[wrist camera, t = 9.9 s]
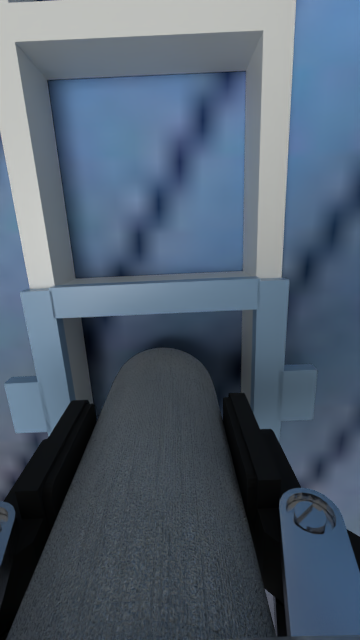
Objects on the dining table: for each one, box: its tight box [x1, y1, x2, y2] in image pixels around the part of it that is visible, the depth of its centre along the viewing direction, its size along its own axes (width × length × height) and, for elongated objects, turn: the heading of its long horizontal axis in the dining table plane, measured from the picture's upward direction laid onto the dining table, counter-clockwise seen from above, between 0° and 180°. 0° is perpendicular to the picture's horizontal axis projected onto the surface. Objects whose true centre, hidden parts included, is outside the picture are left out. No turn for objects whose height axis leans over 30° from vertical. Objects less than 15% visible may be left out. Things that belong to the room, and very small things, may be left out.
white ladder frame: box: [0, 0, 318, 443], centre depth 12 cm, size 13×28×3 cm, turn 3°
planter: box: [6, 348, 276, 640], centre depth 8 cm, size 4×4×10 cm
